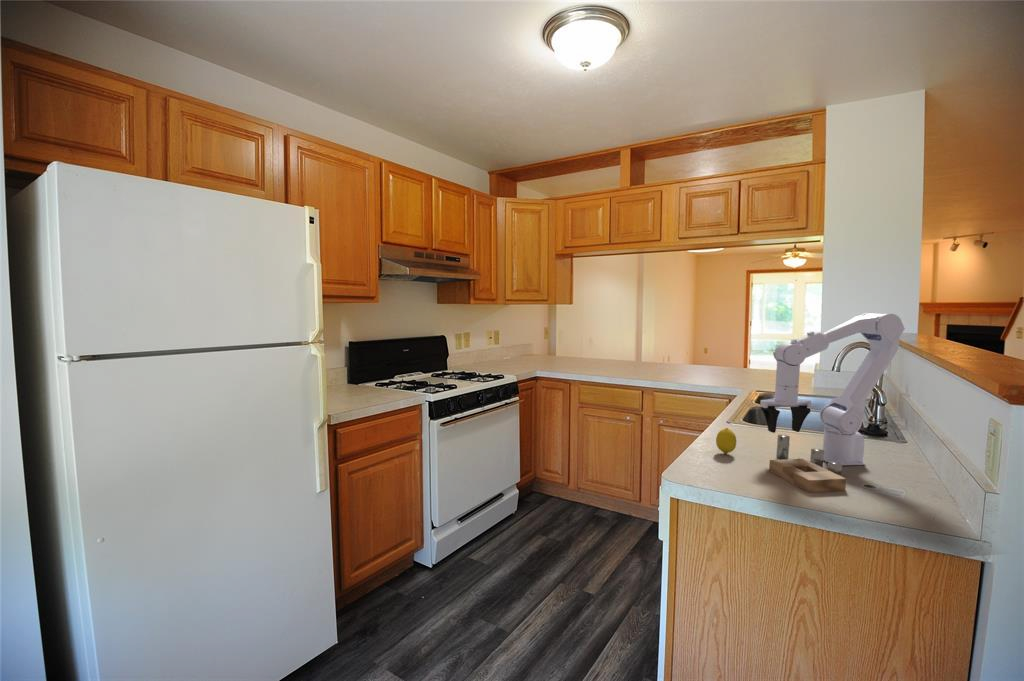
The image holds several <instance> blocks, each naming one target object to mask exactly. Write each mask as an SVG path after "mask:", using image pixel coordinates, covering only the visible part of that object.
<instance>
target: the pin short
mask: <svg viewBox="0 0 1024 681" xmlns="http://www.w3.org/2000/svg"><path fill="white" fill-rule="evenodd" d="M842 468H843V466H842V464H841V463H839V462H835V461H828V462H827V470H829V471H831V472H833V473H835V474H837V475H840V476H842Z"/></svg>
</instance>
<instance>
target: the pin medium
mask: <svg viewBox="0 0 1024 681" xmlns="http://www.w3.org/2000/svg"><path fill="white" fill-rule="evenodd" d="M809 462H811V463H814V464H816V465H818V466H820V467H822V468H824V450H823V448H822V449H821V448H817V447H814V448H813V447H812V448H810V460H809Z"/></svg>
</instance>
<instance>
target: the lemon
mask: <svg viewBox="0 0 1024 681" xmlns="http://www.w3.org/2000/svg"><path fill="white" fill-rule="evenodd" d="M736 436H737V435H736V434H735V432H734V431H733V430H731V429H729V428H728V427H726V428H723V429H720V430H719V431H718V433H717V435H716V439H715V442H716V447H717V449H718V450H719V451H720V452H722V453H723V454H724V455H728V454H729V453H731V452H733V451H734V450H735V448H736V446H737V437H736Z"/></svg>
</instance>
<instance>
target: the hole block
mask: <svg viewBox="0 0 1024 681" xmlns="http://www.w3.org/2000/svg"><path fill="white" fill-rule="evenodd" d="M768 467H769V469H768V471H769V470H770V471H772V472H773V473H772V472H771V473H772V474H774V473H775V474H774V475H776V474H777V476H778V475H779V476H780V478H781V477H782V478H781V479H783V478H784V479H783V480H785V481H787V482H789V483H790V482H791V483H790V484H792V483H793V485H795V487H798V488H799V487H800V489H801V488H802V489H801V490H803V491H805V492H806V493H820V492H824V491H825V492H841V491H846V488H847V486H846V485H847V477H844V476H842V475H841V476H840V475H837V474H835V473H833V472H831V471H829V470H827V469H828V468H827V469H826V468H824V467H823V468H822V467H820V466H818V465H816V464H814V463H811V462H810V460H807V459H804V458H792V459H789V458H788V459H785V460H777V459H769V466H768ZM770 471H769V472H770ZM779 476H778V477H779Z"/></svg>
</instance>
